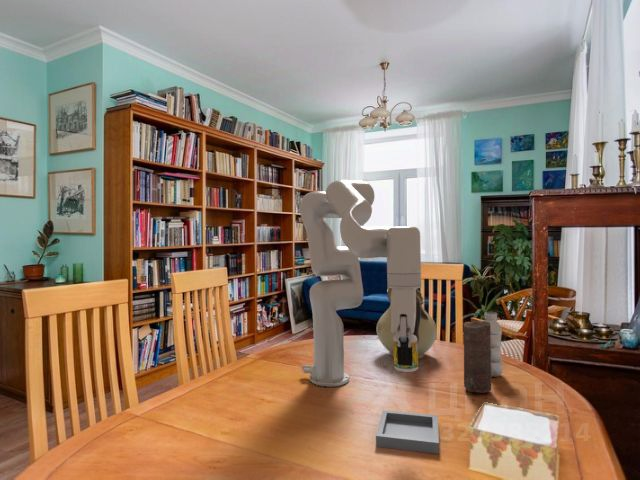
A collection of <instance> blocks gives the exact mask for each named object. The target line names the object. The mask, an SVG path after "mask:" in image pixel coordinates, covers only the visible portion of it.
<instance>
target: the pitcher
mask: <svg viewBox="0 0 640 480" xmlns="http://www.w3.org/2000/svg"><path fill="white" fill-rule="evenodd" d="M386 295H387V298H388V301H389V303H390V305H389V307H388V308H387V309H386V311H384V313H383V314H382V315H381V316H380V318H379V320H378V321H377V324H376V329H375V330H376V334H377V335H376V336H377V338H378V340H379V342H380V343H381V344H382V345H383V347H384V348H385V349H386V350H387V351H388V352H389V355H390V357H392V358H394V345H393V338H394V336H395V335H396V334H397V332H395V333H392V332H391V297H392V288H388V287H387V290H386ZM424 302H425V301H424V297H423V295H422V293H421V291H420V290H419V288H417V289H416V320H415V328H414V333H413V335H415V336H416V337H417V344H418V360H420V359H422V358H424V356H425V355H424V354H425V353H427V352H428V351H429V350H430V349H431V348H432V347H433V346H434V344H435V342H436V339H437V335H438V329H437V324H436V322H435V320H434V319H433V317H432V316H431V315H430V314H429V313H428V312H427V311H426V310H425V308H424V306H423V305H424Z"/></svg>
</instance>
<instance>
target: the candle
mask: <svg viewBox="0 0 640 480" xmlns="http://www.w3.org/2000/svg"><path fill="white" fill-rule="evenodd" d="M463 387H464V389H466V390H467V391H468V392H470V393H475V394H476V393H480V394H484V393H489V392H491V391H492V376H491V345H490V323H489V322H486V321H485V320H477V321H476V320H473V321H465V322H464V323H463Z"/></svg>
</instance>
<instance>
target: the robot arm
mask: <svg viewBox="0 0 640 480" xmlns="http://www.w3.org/2000/svg"><path fill="white" fill-rule="evenodd" d="M374 201H375V191H374V188H373V186H372V185H371V184H370V183H369V182H367V181H363V180H349V179H338V180H334V181H332V182H331V183H329V184H328V186H327V187H326V188H325V191H322V190H319V191H317V190H316V191H311V192H308V193H306V194H305V195H303V197H302V199H301V201H300V217H301V221H302V224H303V227H304V229H305V232H306V235H307V236H306V237H307V244H308V251H309V259H310V267H311V270H312V273H313V274H314V275H315V276H316V277H336V276H337V277H338V276H341V278H342V279H331V280H330V279H327V280H320V281H317V282H314V284H312V285H311V287H310V289H309V301H310V306H311V311H312V325H313V326H312V331H313V361H314V364H311V365H309V364H302V365H301V366H302V367H301V371H302V372H303V373H305V374H310V375H309V382H310V381H311V382H312V383H311V382H310V383H311V384H313V383H314V384H313V385H315V384H316V385H315V386H318V385H319V387H324V386H326V388H327V387H329V388H333V387H334V388H335V387H339V386H340V387H341V386H343V385H345V384H348V383H349V381H350V374H349V373H347V372H345V350H344V348H345V347H344V346H345V344H344V337H345V335H344V323H343V321H342V318H341V317H340V316H339V314H338V313H337V311H340V310H346V309H355V308H358V307H359V306H361V305H362V302H363V300H364V287H363V282H362V281H363V280H362V271H361V265H360V259H375V258H376V259H378V258H379V259H380V258H384V259H385V258H386V275H387V276H386V277H387V279H386V281H387V284H386V285H387V289H388V288H392V297H391V303H390V305H391V332H392V333H395V332H396V331H397V329H398V346H397V361H398V365H407V366H412V364H413V359H412V347H411V334H412V333H413V332H414V328H415V320H416V289H421V288H422V265H421V264H422V260H421V259H422V258H421V232H420V231H421V230H420V229H419V228H418V227H417V226H414V225H412V226H409V225H407V226H405V225H403V226H364V225H365V224H366V223H368V221H369V220H370V218H371V217H372V212H373V207H372V205H373V203H374ZM324 219H341V220H340V223H339V231H340V237H341V240H342V242H343V244H344V246H337V245H336V244H335V235H334V232H333V229H332V228H331V227H330V226H329V224H328V223H327V222H326V221H325V220H324ZM359 258H360V259H359ZM406 330H409V333H407V332H406ZM406 336H408V337H406Z"/></svg>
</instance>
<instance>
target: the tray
mask: <svg viewBox="0 0 640 480" xmlns="http://www.w3.org/2000/svg"><path fill="white" fill-rule="evenodd" d="M438 419H439V416H438V415H437V414H428V413H427V414H426V413H418V412H406V411H397V410H396V411H394V410H386V409H385V410H384V409H383V410H382V411H381V415H380V419H379V423H378V426H377V430H376V434H375V446H376V447H377V448H378V447H379V448H385V449H394V450H401V451H410V452H419V453H425V454H426V453H427V454H433V455H434V454H435V455H440V438H439V437H440V436H439V433H440V432H439V420H438Z"/></svg>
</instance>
